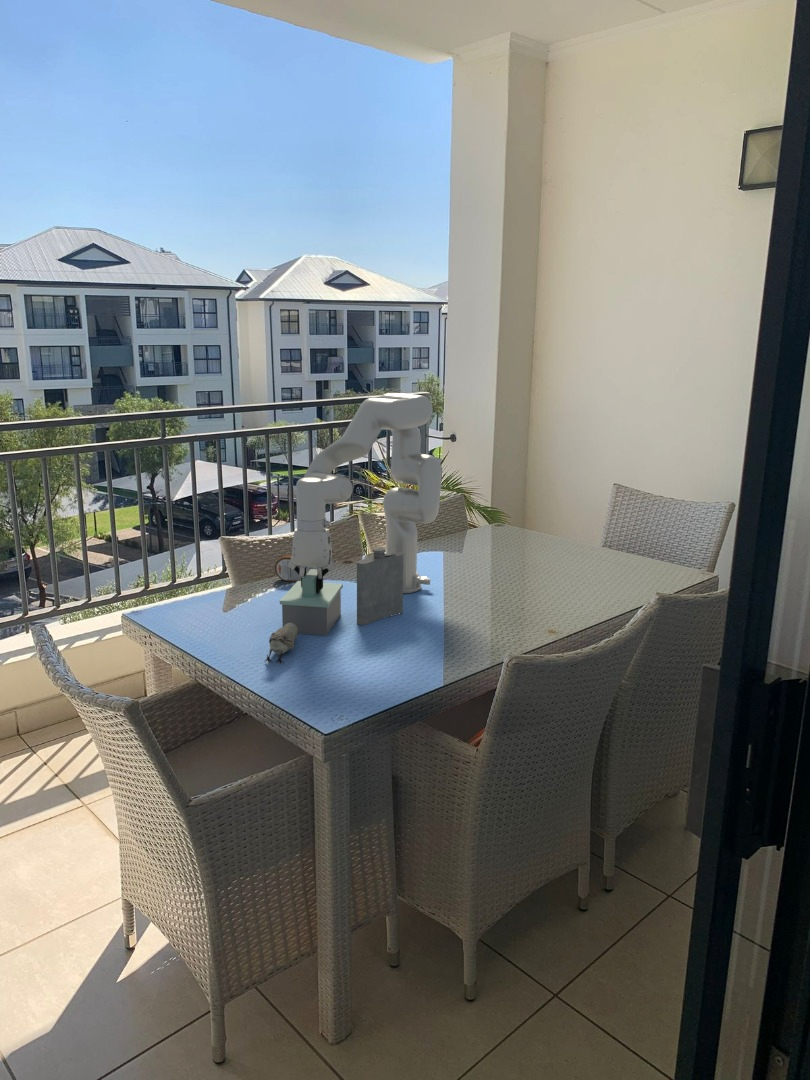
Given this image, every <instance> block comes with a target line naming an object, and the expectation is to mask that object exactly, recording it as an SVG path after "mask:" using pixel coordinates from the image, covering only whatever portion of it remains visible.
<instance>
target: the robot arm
mask: <svg viewBox="0 0 810 1080" xmlns="http://www.w3.org/2000/svg"><path fill="white" fill-rule="evenodd" d="M432 415H433V404H432V402H431V400H430V399H429V398H428V397H427V396H425V395H421V394H410V393H409V394H408V393H401V392H400V393H399V392H388V393H387V392H386V393H383V394H382V395H381V396H380V397H369V398H365V400H364V401H362V402H361V404H360V406H359V407H358V409H357V410H356V412H355V414H354V416H353V417H352V419H351V421H350V422H349V424H348V426H347V428H346V429H345V431H344V433H343V435H342V436H341V437H340V438H339V439H337V440H336V441H334V442H333V443H331V444H330V445H328V446H327V447H326V448H324V449H323V450H321V451H320V452H319V453H318V454H317V455H316V456H315V457H314V458H313V459H312V461H311V463H309V464H310V465H309V466H308V467H307V470H306V472H305V474H304V475H303V477H302V478H299V479H298V480H297V481H296V484H295V485H296V487H295V489H296V490H295V491H296V492H295V493H296V497H295V499H296V528H294V533H293V539H292V545H291V547H292V548H291V550H292V551H291V555H292V557H291V559H290V561H289V563H288V567H290V568H292V569H294V570H295V571H296V572H297V573H298V574H299V576H300V577H301V588H302V579H303V577H304V576H305V575H306V574H307V573H306V571H307V567H317V575H318V576H317V579H316V592H317V593H319V592H320V591H321V589H323V583H324V576H326V575H327V574H328V573H330V572H333V571H334V570H336V568H337V565H336V563H335V562H334V560H333V551H332V550H333V549H332V541H331V534H330V533H331V532H330V529H329V528H327V527H331V526H332V521H330V520H327V517H326V505H327V504H328V505H329V504H341V503H344V502H346V501H347V500H348V499H350V497H351V496H352V493H353V484H352V482H351V480H350V479H349V478H348V477H346V476H344V475H340V474H334V473H332V471H334V470H335V469H336V468H337V467H339V466H341V465H343V464H346V463H348V462H352V461H354V460H358V459H361V458H364V457H365V456H367V455H368V454H369V453H370V450H371V449H372V447H373V445H374V444H375V442H376V440H377V438H378V437H379V435H380V433H381V432H382V431H383V430H386V431H387V430H388V431H391V437H392V441H391V442H392V446H391V457H390V458H391V462H390V475H391V478H392V479H393V480H394V481H395V482H397V483H400V484H406V485H410V486H411V485H412V486H418V489H415V488H410V487H402V486H401V487H400V486H398V487H393V488H392V487H391V488H390V489H388V491H386V492H385V494H384V497H383V500H382V505H383V513H384V516H385V525H386V526H385V527H386V533H385V535H386V538H385V540H386V541H385V542H386V543H385V549H386V552H385V553H394V552H401V553H404V568H403V594H412V593H416V592H418V591H420V590H421V589H422V585H427V586H430V585H431V578H428V576H421V575H419V571H417V567H418V566H417V564H418V562H417V561H418V557H417V556H418V530H417V526H416V524H415V523H419V524H431V523H433V522H434V521H435V520H436V519H437V516H438V514H439V512H440V502H441V492H442V490H441V489H442V478H443V470H442V465H441V462H440V460H439V459H438V458H437V457H436V456H433V455H431V454H426V453H422V452H421V446H422V445H421V443H422V436H421V432H420V428H419V427H422V426H424V425H425V424H427V423H428V422H429V421H430V420H431V418H432Z"/></svg>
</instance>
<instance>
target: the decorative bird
mask: <svg viewBox="0 0 810 1080" xmlns="http://www.w3.org/2000/svg"><path fill="white" fill-rule="evenodd" d="M297 637H298V629H297V626H296V625H295V624H293V623H287V624H286V625H285V626H284V627H283V626H282V627H280V628H278V629H277V630H275V631H274V632H272V633H271V635H270V636H269V637H268V639H269V640H268V642H269V648H270V649H269V654H266V659H265V660H264V662H267V661H268V663H270V662H271V663H273V660H272V659H271V658H270V657H271V655H272V652H273V653H274V654H275V655H277V657H278V658H277V660H276V661H275V664H276V663H278V662H279V665H281V664H283V665H285V662H284V661H283V660H282V656H283V654H285V653H286V652H288V651H289V650H292V649H294V647H295V642H296V639H297ZM279 655H280V656H279Z"/></svg>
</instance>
